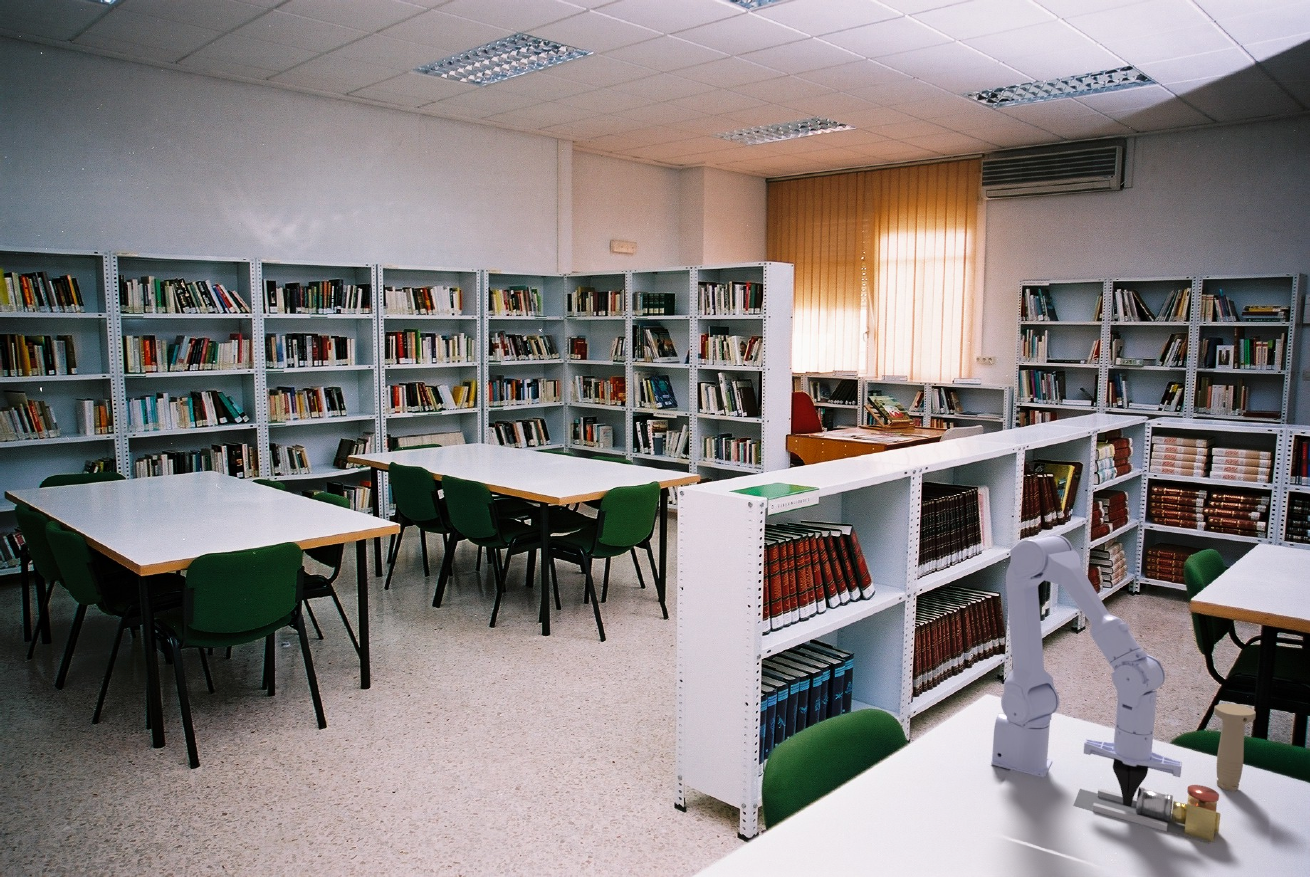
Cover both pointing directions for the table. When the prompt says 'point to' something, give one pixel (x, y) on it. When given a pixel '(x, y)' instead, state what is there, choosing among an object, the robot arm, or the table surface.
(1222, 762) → the handle
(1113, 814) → the grey railed tray
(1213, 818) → the valve
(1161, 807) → the coupling
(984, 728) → the table surface
